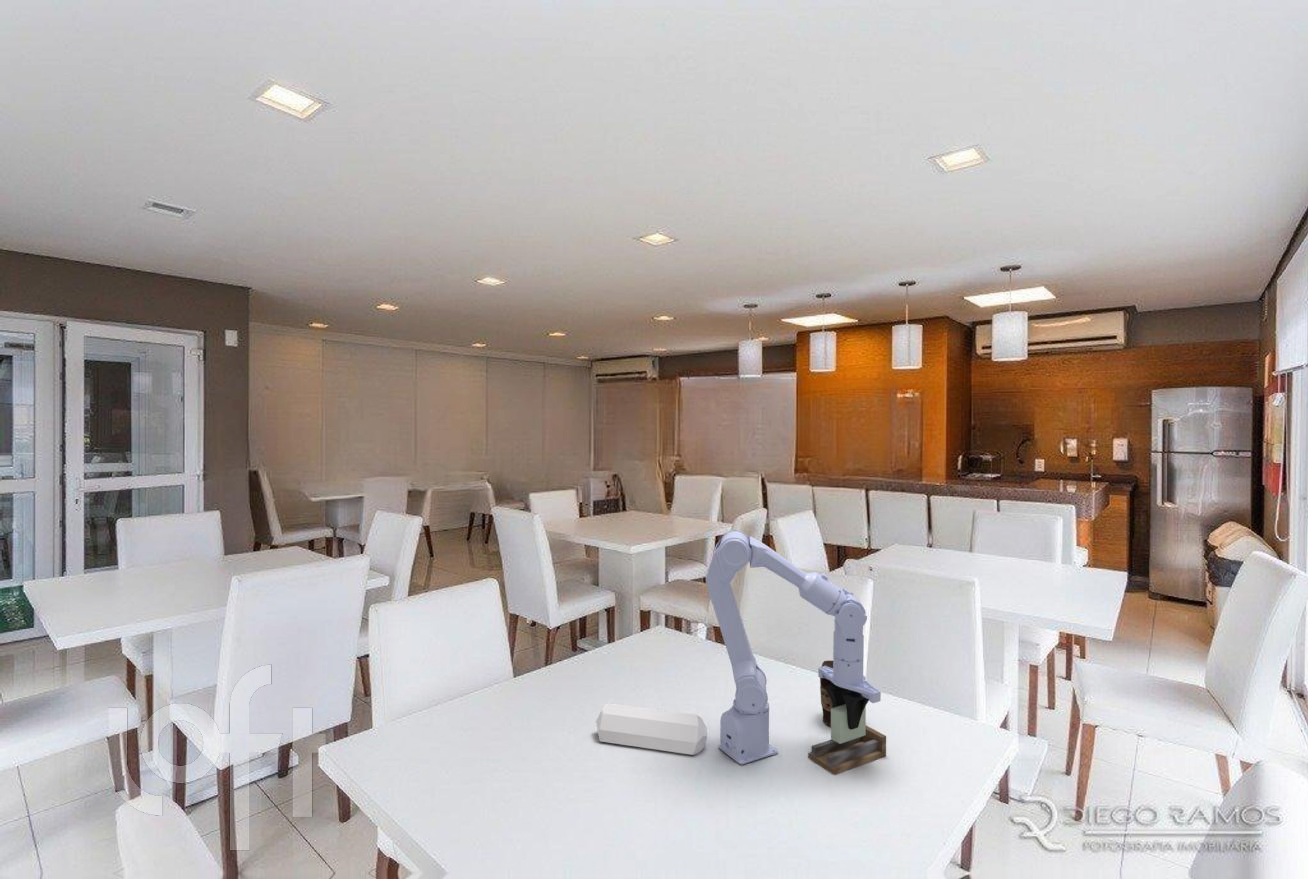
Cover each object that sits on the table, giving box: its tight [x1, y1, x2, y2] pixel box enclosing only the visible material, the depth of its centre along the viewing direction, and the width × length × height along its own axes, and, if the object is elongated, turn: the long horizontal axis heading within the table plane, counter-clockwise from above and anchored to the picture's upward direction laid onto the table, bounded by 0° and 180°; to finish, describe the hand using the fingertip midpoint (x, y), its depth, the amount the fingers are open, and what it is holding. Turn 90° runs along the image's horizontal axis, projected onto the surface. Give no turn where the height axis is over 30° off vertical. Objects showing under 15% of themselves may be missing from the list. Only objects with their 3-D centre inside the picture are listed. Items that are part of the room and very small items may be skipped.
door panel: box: [830, 704, 867, 744], centre depth 128 cm, size 7×2×6 cm, turn 119°
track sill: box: [807, 725, 887, 776], centre depth 128 cm, size 14×7×4 cm, turn 119°
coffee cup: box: [819, 660, 834, 727], centre depth 142 cm, size 9×8×13 cm
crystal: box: [595, 702, 708, 756], centre depth 133 cm, size 7×7×24 cm
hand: (847, 724), depth 128 cm, fingers closed on door panel, 2 cm apart
